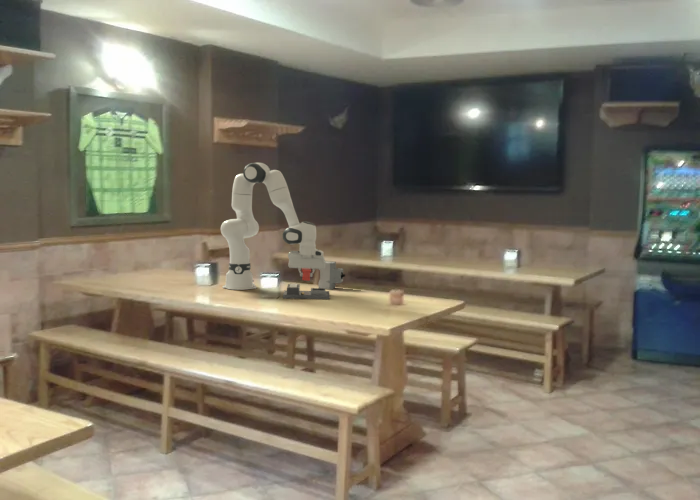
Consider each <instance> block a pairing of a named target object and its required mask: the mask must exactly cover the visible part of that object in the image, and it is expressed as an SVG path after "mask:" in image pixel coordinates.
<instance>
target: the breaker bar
mask: <svg viewBox="0 0 700 500" xmlns="http://www.w3.org/2000/svg"><path fill="white" fill-rule="evenodd" d="M289 284H290V286H289V288H298V283H289Z"/></svg>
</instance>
